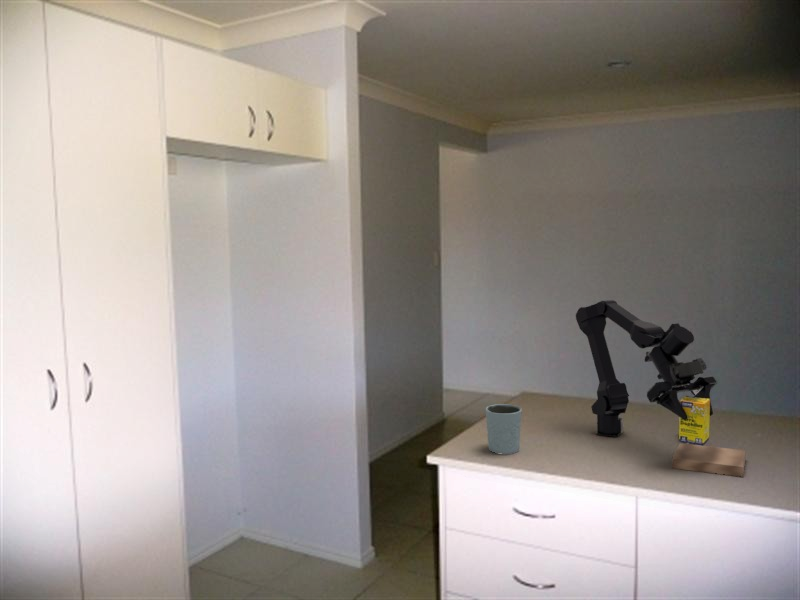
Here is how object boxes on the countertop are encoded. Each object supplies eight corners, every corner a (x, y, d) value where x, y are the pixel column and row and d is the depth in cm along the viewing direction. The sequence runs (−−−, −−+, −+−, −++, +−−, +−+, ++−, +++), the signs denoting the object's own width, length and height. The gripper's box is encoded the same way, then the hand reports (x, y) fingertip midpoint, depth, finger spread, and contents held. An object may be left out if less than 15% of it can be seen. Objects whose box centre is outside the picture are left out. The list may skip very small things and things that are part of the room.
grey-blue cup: (500, 442, 198) (500, 402, 196) (529, 449, 190) (529, 407, 189) (479, 450, 190) (478, 409, 189) (508, 458, 183) (507, 415, 182)
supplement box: (678, 442, 171) (679, 400, 170) (684, 436, 176) (685, 395, 175) (703, 446, 167) (704, 403, 166) (709, 440, 172) (710, 398, 171)
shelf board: (672, 467, 171) (672, 458, 171) (679, 452, 183) (679, 443, 183) (742, 477, 163) (742, 467, 163) (745, 459, 176) (745, 450, 175)
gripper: (655, 351, 169) (687, 404, 160) (712, 345, 176) (746, 395, 167) (633, 376, 178) (663, 428, 169) (689, 369, 184) (720, 418, 175)
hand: (699, 417), depth 170 cm, fingers closed on supplement box, 8 cm apart
